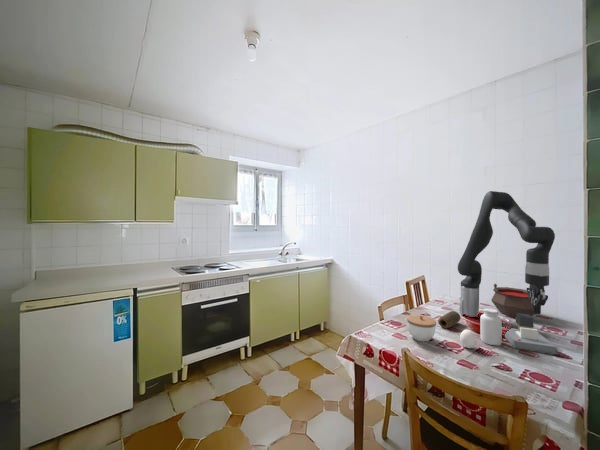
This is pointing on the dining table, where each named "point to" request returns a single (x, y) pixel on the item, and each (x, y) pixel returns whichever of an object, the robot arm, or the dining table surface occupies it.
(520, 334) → the white l-shaped bracket
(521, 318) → the plug
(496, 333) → the pill bottle
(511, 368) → the dining table surface
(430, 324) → the lidded bowl
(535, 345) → the socket
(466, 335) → the egg
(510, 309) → the brown cauldron
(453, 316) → the olive brown hollow cylinder
